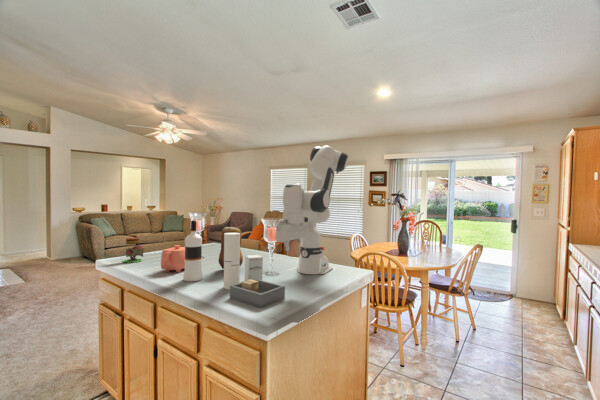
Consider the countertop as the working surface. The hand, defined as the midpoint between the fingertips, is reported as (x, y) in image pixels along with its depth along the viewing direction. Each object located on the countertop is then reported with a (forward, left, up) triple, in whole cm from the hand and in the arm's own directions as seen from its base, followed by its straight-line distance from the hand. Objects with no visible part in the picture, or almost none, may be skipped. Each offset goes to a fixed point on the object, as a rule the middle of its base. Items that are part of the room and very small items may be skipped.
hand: (292, 249), depth 131 cm
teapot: (+12, -75, -19) cm, 78 cm away
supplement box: (+1, -24, -19) cm, 30 cm away
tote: (+17, -5, -18) cm, 26 cm away
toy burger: (+18, -117, -19) cm, 120 cm away
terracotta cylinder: (0, 0, -3) cm, 3 cm away
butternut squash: (-6, -50, -19) cm, 54 cm away
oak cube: (+17, -9, -17) cm, 26 cm away
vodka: (+18, -50, -19) cm, 56 cm away
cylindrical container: (+14, -25, -19) cm, 34 cm away
